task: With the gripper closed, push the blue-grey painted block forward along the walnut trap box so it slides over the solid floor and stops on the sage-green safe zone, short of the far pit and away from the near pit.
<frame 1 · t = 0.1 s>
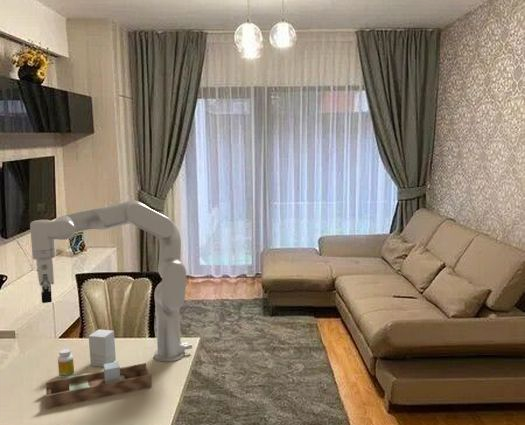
hand: (46, 298, 178), 31 cm above the table, tool pointing down, fingers open, 9 cm apart
supplement bottle: (66, 375, 185), on the table
supplement box: (103, 363, 195), on the table
trap box: (99, 390, 173), on the table
block: (112, 381, 174), point 2 cm above the table, touching trap box
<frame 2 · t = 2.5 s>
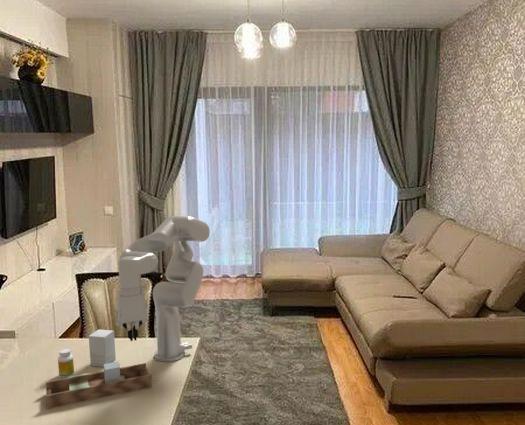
hand: (133, 339, 175), 17 cm above the table, tool pointing down, fingers closed
nothing on the table moved.
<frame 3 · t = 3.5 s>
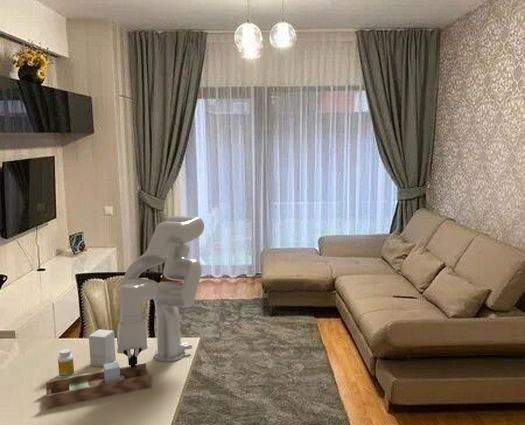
hand: (132, 366, 176), 7 cm above the table, tool pointing down, fingers closed
nothing on the table moved.
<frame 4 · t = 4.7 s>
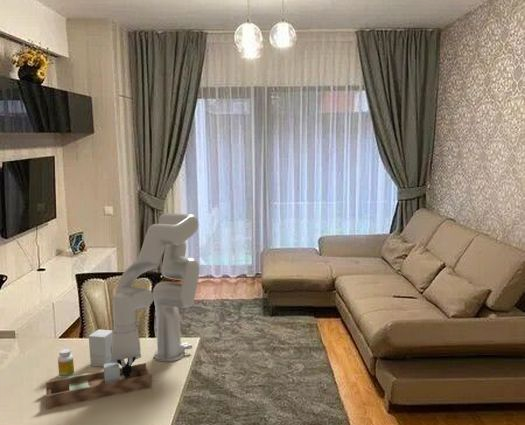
hand: (127, 375, 176), 4 cm above the table, tool pointing down, fingers closed
block: (112, 381, 174), point 3 cm above the table, touching gripper, trap box
everything else where it was.
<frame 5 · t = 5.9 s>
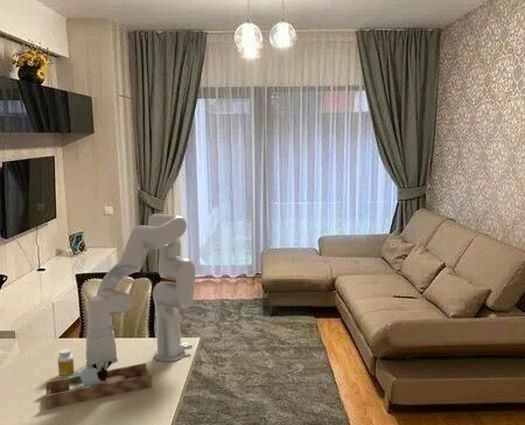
hand: (102, 379, 172), 4 cm above the table, tool pointing down, fingers closed
block: (92, 383, 171), point 3 cm above the table, tilted 19°, touching gripper
everything else where it was.
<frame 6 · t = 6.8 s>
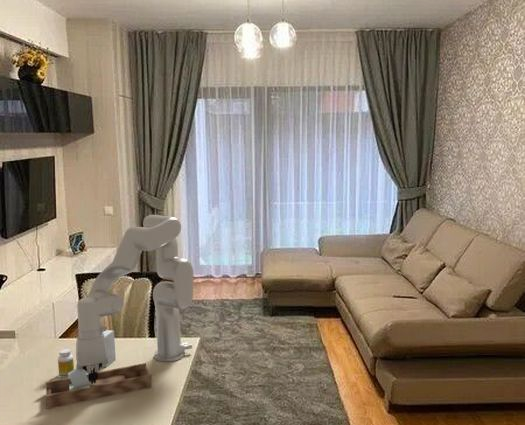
hand: (93, 381, 171), 4 cm above the table, tool pointing down, fingers closed
block: (82, 385, 169), point 3 cm above the table, tilted 19°, touching gripper, trap box
everything else where it was.
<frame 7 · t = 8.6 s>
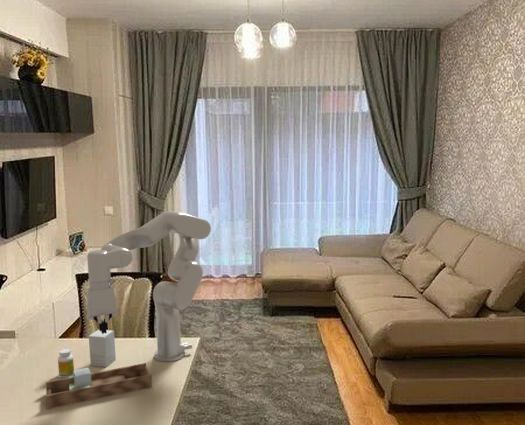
hand: (103, 332, 177), 19 cm above the table, tool pointing down, fingers closed
block: (83, 387, 169), point 2 cm above the table, touching trap box
everything else where it was.
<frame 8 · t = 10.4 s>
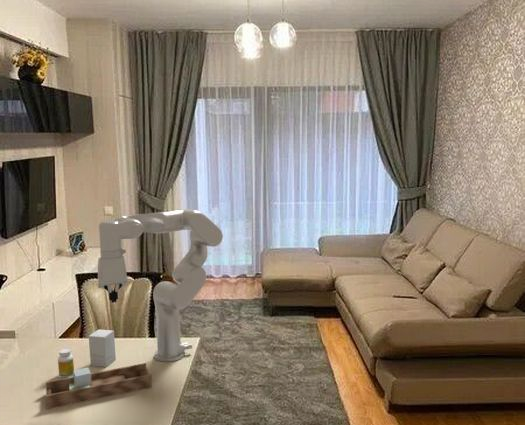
hand: (113, 301, 181), 29 cm above the table, tool pointing down, fingers closed
nothing on the table moved.
at the end: block inside the target area on the trap box (1.2 cm from its centre), point 2.5 cm above the trap box's base; block tilted 1° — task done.
